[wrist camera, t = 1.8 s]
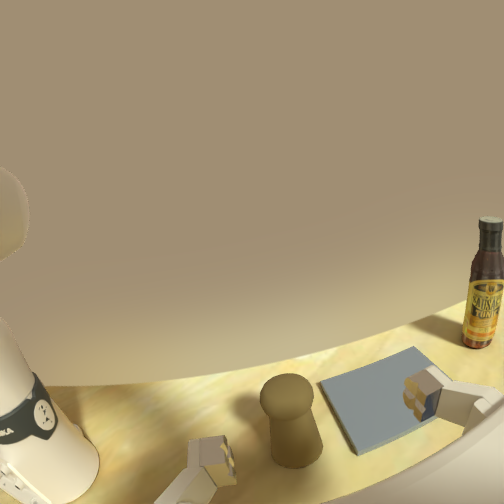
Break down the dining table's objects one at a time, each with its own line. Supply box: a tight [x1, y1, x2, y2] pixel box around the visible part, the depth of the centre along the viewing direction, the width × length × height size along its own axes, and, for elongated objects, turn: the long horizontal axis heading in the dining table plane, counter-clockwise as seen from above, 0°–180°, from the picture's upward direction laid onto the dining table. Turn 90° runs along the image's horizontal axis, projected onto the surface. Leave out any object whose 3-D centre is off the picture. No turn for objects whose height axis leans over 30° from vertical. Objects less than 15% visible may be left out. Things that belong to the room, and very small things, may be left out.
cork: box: [260, 373, 323, 468], centre depth 27 cm, size 6×6×11 cm
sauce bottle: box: [462, 217, 504, 349], centre depth 33 cm, size 7×6×20 cm
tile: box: [320, 346, 453, 456], centre depth 32 cm, size 16×14×1 cm
